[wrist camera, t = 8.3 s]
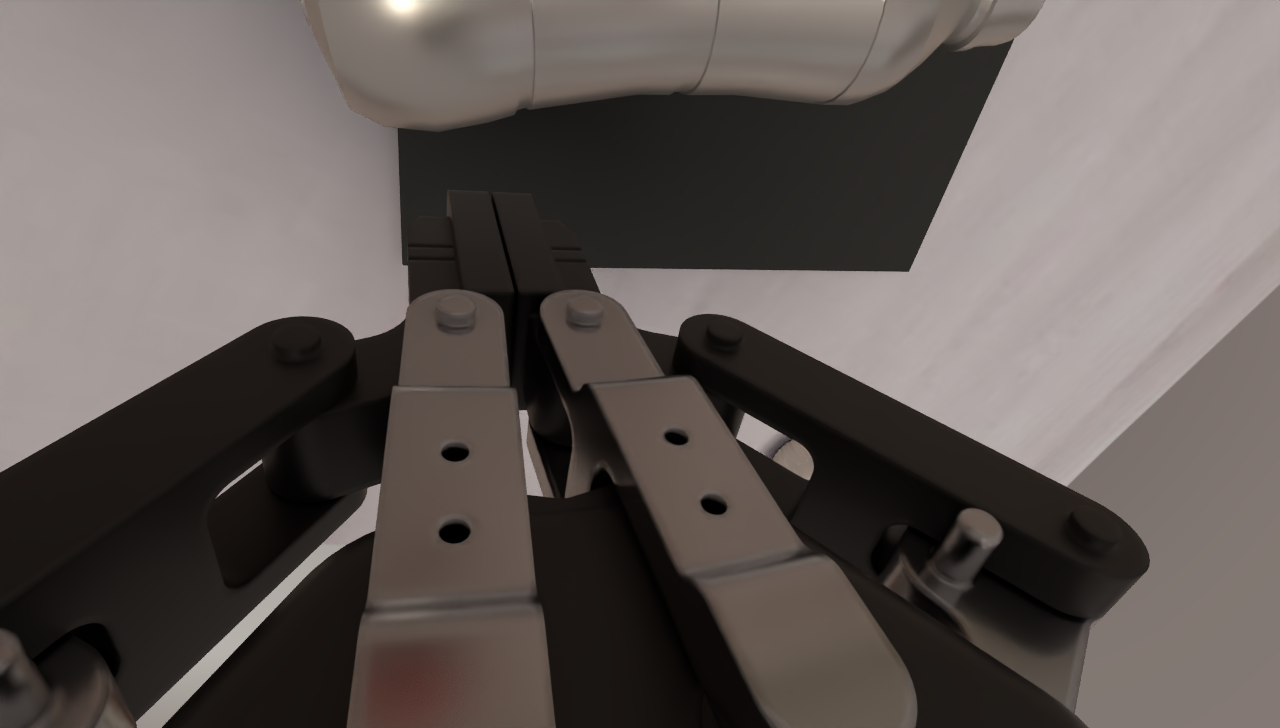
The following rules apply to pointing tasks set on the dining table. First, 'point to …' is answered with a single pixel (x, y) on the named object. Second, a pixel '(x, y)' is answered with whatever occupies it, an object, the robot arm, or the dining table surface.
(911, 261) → the rubber mat
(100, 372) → the dining table surface
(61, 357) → the dining table surface
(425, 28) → the plastic bottle
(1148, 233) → the dining table surface
